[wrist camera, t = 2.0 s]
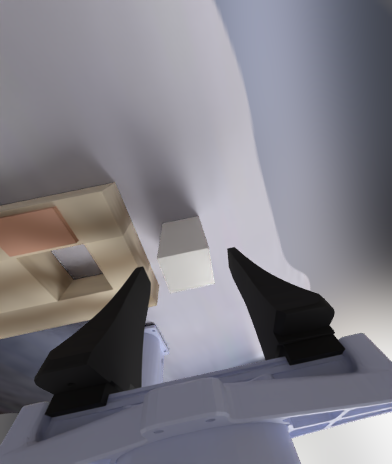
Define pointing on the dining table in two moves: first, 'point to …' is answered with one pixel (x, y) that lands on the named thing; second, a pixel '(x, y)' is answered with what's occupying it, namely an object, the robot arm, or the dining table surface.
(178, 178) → the dining table surface
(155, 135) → the dining table surface
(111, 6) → the dining table surface
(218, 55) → the dining table surface
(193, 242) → the plug
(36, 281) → the socket block
